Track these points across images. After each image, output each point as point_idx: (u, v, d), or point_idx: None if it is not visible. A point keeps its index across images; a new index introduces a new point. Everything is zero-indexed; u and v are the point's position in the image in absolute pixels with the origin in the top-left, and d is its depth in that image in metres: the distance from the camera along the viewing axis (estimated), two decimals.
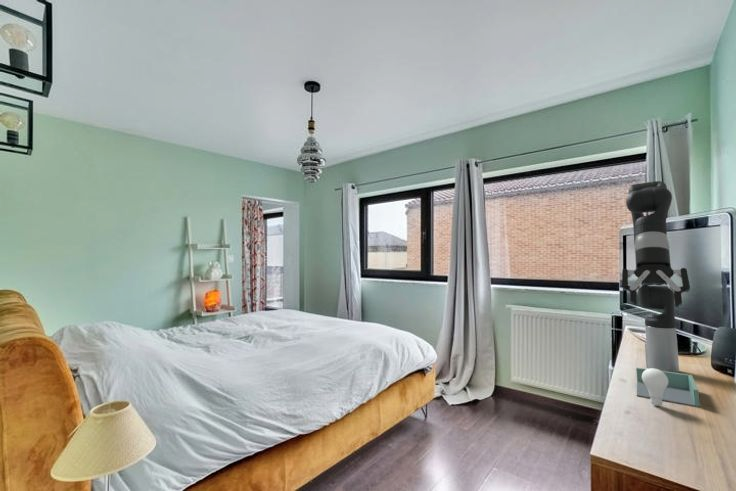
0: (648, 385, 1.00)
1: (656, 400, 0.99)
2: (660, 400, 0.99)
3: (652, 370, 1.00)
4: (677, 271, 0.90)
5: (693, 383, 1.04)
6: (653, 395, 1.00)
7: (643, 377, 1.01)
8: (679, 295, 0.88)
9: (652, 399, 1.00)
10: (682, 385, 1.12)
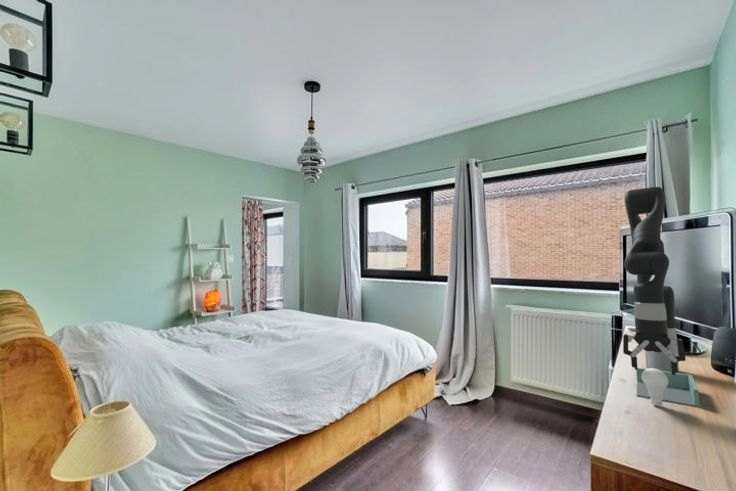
0: (648, 385, 1.00)
1: (656, 400, 0.99)
2: (660, 400, 0.99)
3: (652, 370, 1.00)
4: (674, 341, 0.98)
5: (693, 383, 1.04)
6: (653, 395, 1.00)
7: (643, 377, 1.01)
8: (675, 365, 0.97)
9: (652, 399, 1.00)
10: (682, 385, 1.12)
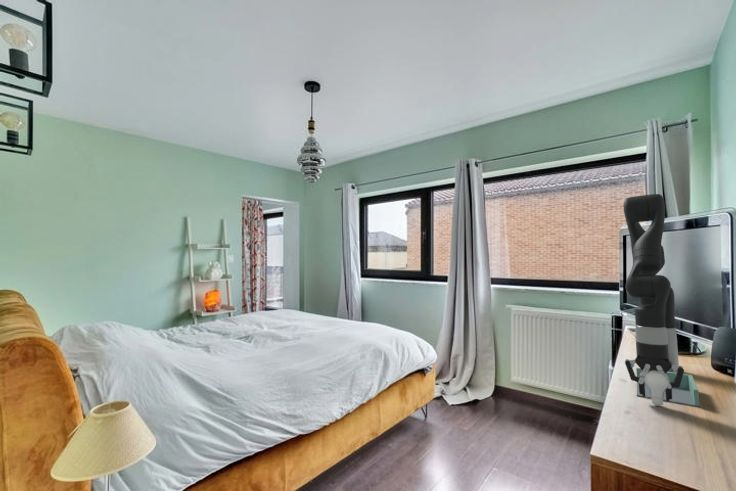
0: (649, 385, 1.00)
1: (656, 400, 0.99)
2: (661, 400, 0.99)
3: (653, 370, 1.00)
4: (675, 367, 0.98)
5: (693, 383, 1.04)
6: (654, 395, 1.00)
7: None
8: (670, 391, 0.98)
9: (653, 399, 1.00)
10: (682, 385, 1.12)
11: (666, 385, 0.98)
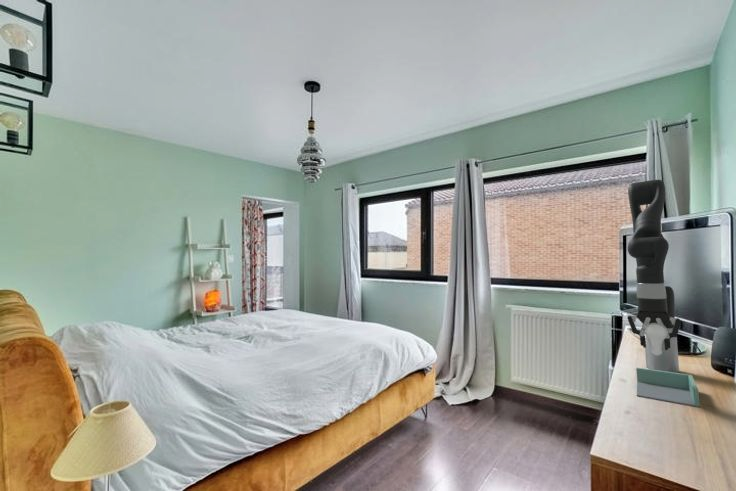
0: (649, 336, 1.10)
1: (656, 349, 1.09)
2: (660, 349, 1.09)
3: (653, 323, 1.10)
4: (673, 319, 1.08)
5: (693, 383, 1.04)
6: (654, 345, 1.10)
7: None
8: (668, 341, 1.08)
9: (653, 349, 1.10)
10: (682, 385, 1.12)
11: (665, 335, 1.08)
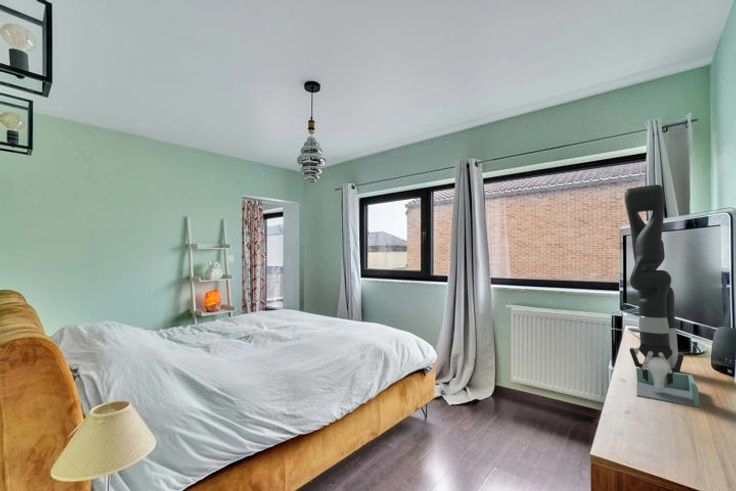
0: (652, 370, 1.09)
1: (658, 384, 1.09)
2: (663, 384, 1.08)
3: (656, 357, 1.09)
4: (675, 354, 1.07)
5: (693, 383, 1.04)
6: (656, 380, 1.09)
7: None
8: (671, 376, 1.07)
9: (655, 383, 1.09)
10: (682, 385, 1.12)
11: (667, 370, 1.07)
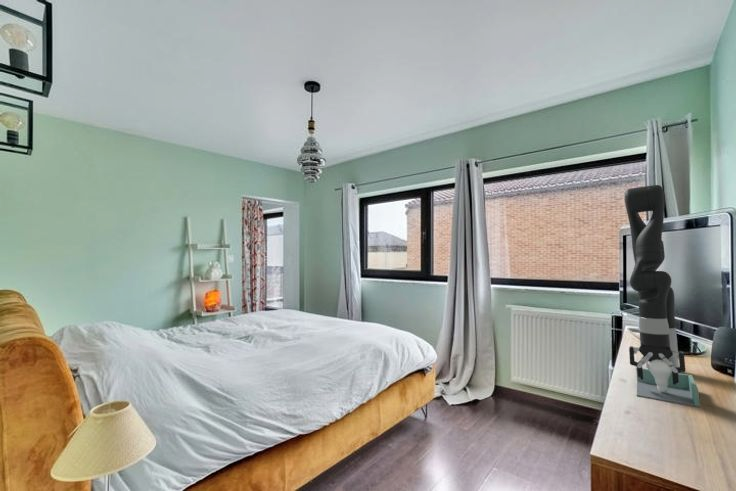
0: (654, 373, 1.09)
1: (662, 386, 1.08)
2: (666, 386, 1.08)
3: None
4: (676, 353, 1.07)
5: (693, 383, 1.04)
6: (659, 382, 1.08)
7: (649, 366, 1.10)
8: (676, 375, 1.06)
9: (658, 386, 1.09)
10: (682, 385, 1.12)
11: (669, 372, 1.07)
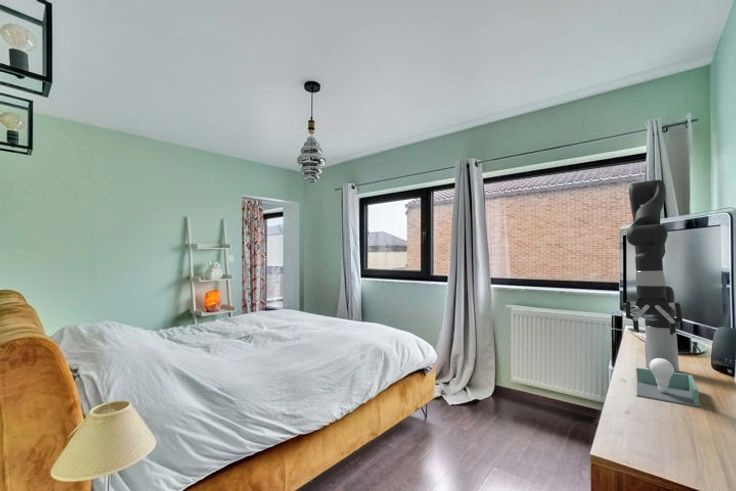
0: (655, 373, 1.09)
1: (662, 387, 1.08)
2: (666, 387, 1.08)
3: (659, 360, 1.09)
4: (672, 304, 1.08)
5: (693, 383, 1.04)
6: (660, 383, 1.08)
7: (651, 366, 1.10)
8: (673, 326, 1.07)
9: (659, 386, 1.09)
10: (682, 385, 1.12)
11: (671, 373, 1.07)
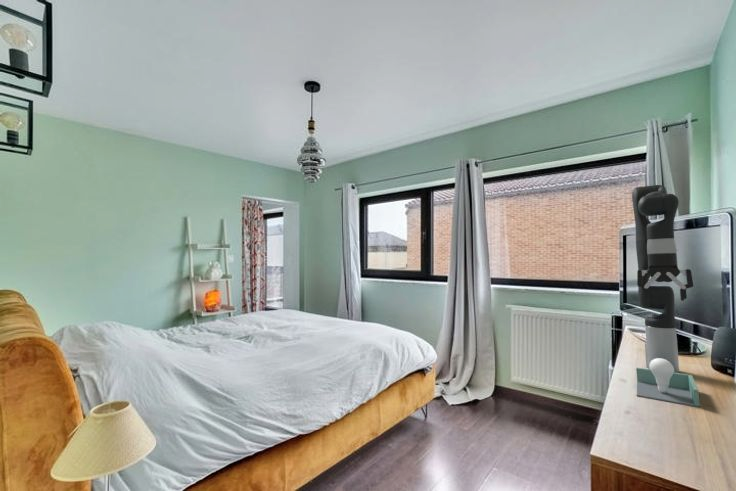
0: (655, 373, 1.09)
1: (662, 387, 1.08)
2: (666, 387, 1.08)
3: (659, 360, 1.09)
4: (683, 271, 1.11)
5: (693, 383, 1.04)
6: (660, 383, 1.08)
7: (651, 366, 1.10)
8: (684, 291, 1.10)
9: (659, 386, 1.09)
10: (682, 385, 1.12)
11: (671, 373, 1.07)
